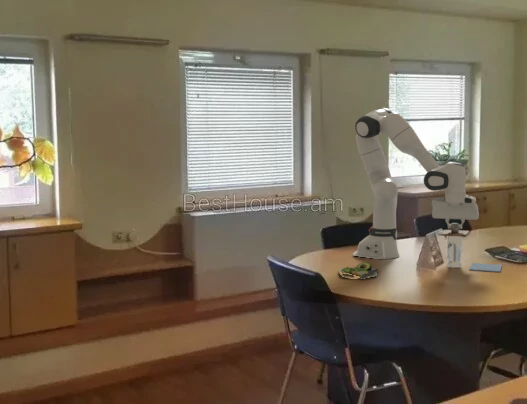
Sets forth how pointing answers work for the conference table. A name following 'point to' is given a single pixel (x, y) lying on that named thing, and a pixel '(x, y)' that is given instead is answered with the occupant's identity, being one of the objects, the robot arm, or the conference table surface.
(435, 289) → the conference table surface
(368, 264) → the salad plate
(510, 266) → the conference table surface
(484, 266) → the slate mat
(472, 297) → the conference table surface
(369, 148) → the robot arm
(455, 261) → the beer glass
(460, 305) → the conference table surface
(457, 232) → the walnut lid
